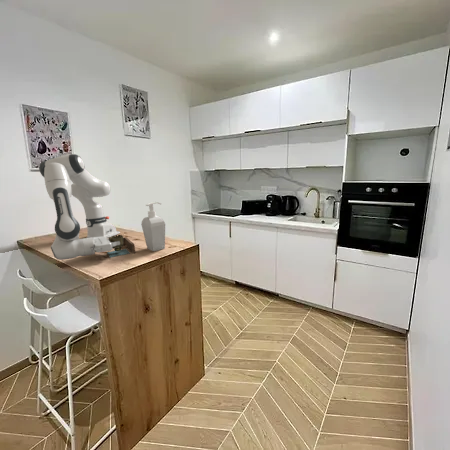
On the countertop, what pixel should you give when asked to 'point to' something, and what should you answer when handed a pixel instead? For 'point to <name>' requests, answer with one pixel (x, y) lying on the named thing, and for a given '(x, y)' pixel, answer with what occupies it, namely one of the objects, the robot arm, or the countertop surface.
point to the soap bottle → (154, 229)
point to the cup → (117, 238)
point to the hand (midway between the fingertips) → (118, 241)
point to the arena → (126, 243)
